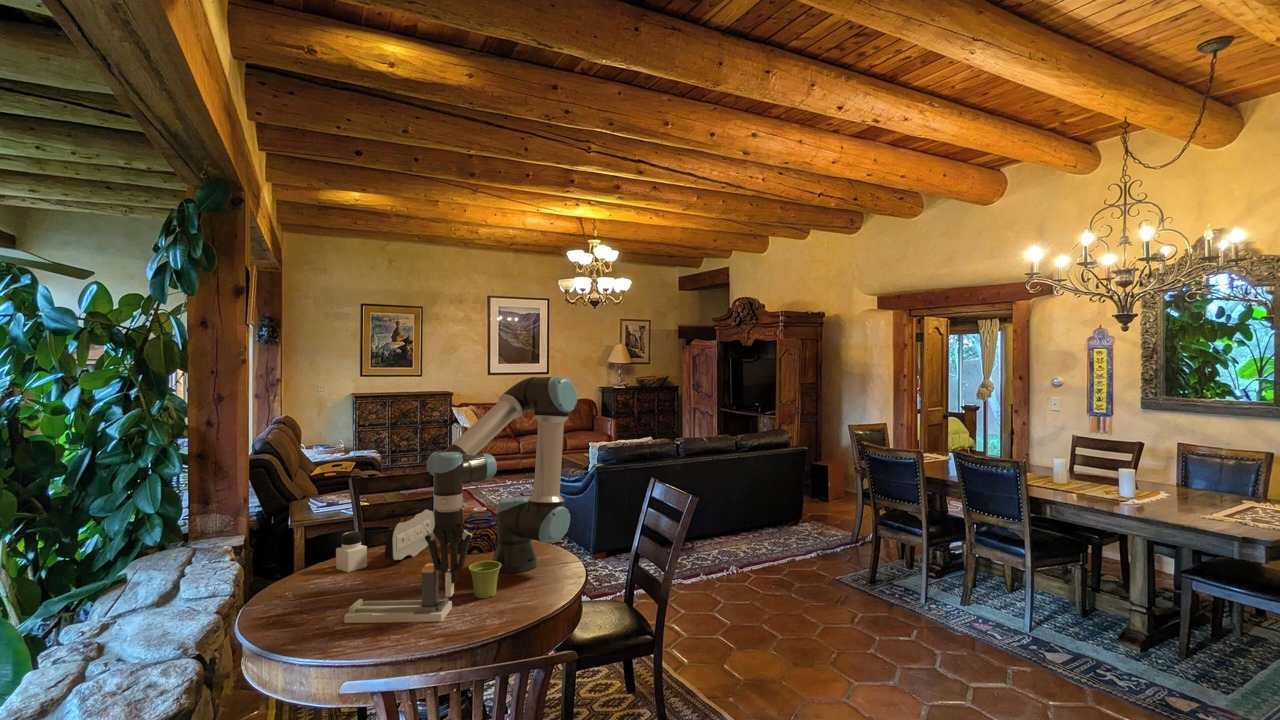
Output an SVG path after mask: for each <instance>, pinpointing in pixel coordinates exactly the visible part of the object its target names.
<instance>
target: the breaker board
mask: <svg viewBox="0 0 1280 720" xmlns="http://www.w3.org/2000/svg"><path fill="white" fill-rule="evenodd" d="M439 600H440V604H439V605H438V607H422V606H421V605H422V599H407V600H406V599H402V600H401V599H400V600H399V599H397V600H390V599H389V600H364V599H363V598H359V599H358V600H356V601H355V602H354V603H353V604H352V605H350V606H349V607H348V612H347V613H345V614H344V621H343V622H344V624H352V623H353V624H360V623H361V624H367V623H368V624H369V623H372V624H373V623H375V624H376V623H424V622H425V623H427V622H429V623H430V622H431V623H432V622H435V623H436V622H443V620H444V619H445V617H446V616H447V615H448V614H449V612H451V610H452V609H453V602H452V600H449V597H444V598H443V599H439Z"/></svg>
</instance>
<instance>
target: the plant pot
mask: <svg viewBox="0 0 1280 720" xmlns="http://www.w3.org/2000/svg"><path fill="white" fill-rule="evenodd" d="M500 567H501V563H499V562H496V561H492V560H483V561H478V562H474V563H471V564H470V565H469V566H468V569H469V571H470V574H471V579H472V586H473V592H474V597H477V598H478V599H488V598H489V597H494V596H495V595H496V593H497V585H498V577H499V573H500V572H499V569H500Z"/></svg>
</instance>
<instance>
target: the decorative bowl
mask: <svg viewBox="0 0 1280 720" xmlns="http://www.w3.org/2000/svg"><path fill="white" fill-rule="evenodd" d="M486 510H487V507H475V508H473V511H474V512H472V513H471V512H470V513H469V514H468V517H467V518H465V519H464V520H463V525H464V527H465V530H468V531H467V532H468V533H473V532H474V533H473V536H472V538H471V540H473V541H469V546H468V550H467V554H466V555H469V554H473V553H474V552H475V551H477V552H478V554H479V553H486V552H492V551H495V550H496V547H497V517H496V516H493V515H492V514H493V513H491V512H490V511H486ZM475 514H484V515H475ZM494 522H495V523H494ZM492 523H493V524H492ZM466 525H469V526H466ZM470 525H471V526H470ZM492 536H494V537H492ZM477 539H480V540H477ZM494 540H495V542H494ZM463 541H464V540H463V535H462V536H461V537H460V538H459V540H458V544H457V554H460V553H461V548H462V544H463ZM492 553H493V552H492ZM486 554H487V553H486Z"/></svg>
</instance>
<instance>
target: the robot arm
mask: <svg viewBox="0 0 1280 720" xmlns="http://www.w3.org/2000/svg"><path fill="white" fill-rule="evenodd" d="M577 404H578V393H577V389H576V387H575V385H574V384H573V382H572V381H571V380H570V379H568V378H567V377H561V376H530V377H526V378H525V379H522V380H520V381H519V382H517V383H515V384H514V385H512V386H511V387H509V388H508V389H507V390H506V391H505V392H503V393H502V394H501V395H500V396H499V398H498V402H497V403H496V404H495V405H493V407H491V408H490V409H489V410H488V411H487V412H485V413H484V415H482V417H480V418H479V419H477V421H476V422H474V423H473V424H472V425H471V426H470V427H469V428H468V429H467V430H465V431H464V433H462V434H461V435H459V437H458V438H457V439H456V440H454V442H453V443H451V444H450V445H449V446H448V447H447V448H446V449H445V450H443V451H442V450H439V451H434V452H432V453H431V454H430V455H429V456H428V458H427V461H426V469H427V471H428V473H429V475H431V476H433V487H434V488H433V490H434V491H433V492H434V494H433V495H434V496H433V497H434V499H433V500H434V501H433V502H434V510H435V511H434V512H433V515H434V519H435V527H434V529H433V532H432V533H429V534H428V535H426V536H425V540H426V541H427V543H428V547H429V548H428V549H429V552H430V554H431V555H430V556H431V559H432V563H433V564H434V568H435V570H438V571H440V572H441V583H442V584H444V587H445V588H444V589H445V590H444V591H445V598H450V597H452V596H453V595H454V593H455V584H456V583H457V582H458V571H461V570H462V568H464V566H465V562H466V558H467V555H468V554H467V550H468V549H469V547H468V546H469V545H470V543H469V542H470V540H471V538H472V536H473V534H474V533H473V532H472V533H468V531H467V530H466V529H465V527H464V526H465V524H464V525H463V523H464V509H463V508H462V507H463V506H464V499H463V497H464V495H463V494H464V493H463V492H464V491H463V490H464V489H463V488H464V485H466V484H471V483H476V482H481V481H483V482H484V481H486V480H490V479H492V478H493V477H494V476H495V475H496V473H497V471H498V468H497V465H498V464H497V460H496V458H495V456H493V455H492V454H490V453H480V454H478V453H479V452H480V451H482V449H484V447H486V446H487V444H489V443H490V441H492V440H493V439H495V437H496V436H498V434H499V433H500V432H501V431H502V430H503V429H504V428H505V427H507V426H508V425H509V424H510V423H511V422H512V421H513V420H514V419H518V418H520V417H522V415H523V414H526V413H529V412H532V411H533V416H534V418H535V419H536V420H537V422H538V423H537V434H536V435H537V436H536V450H535V451H536V453H535V465H534V467H535V469H534V484H533V494H532V495H531V496H529V495H528V496H527V495H523V496H515V497H509V498H505V499H502V500H500V501H499V502H498V503H497V504H496V512H495V513H496V516H495V517H496V520H497V526H496V528H497V529H496V530H497V532H496V533H497V547H496V546H495V547H496V550H495V552H494V554H493V556H492V560H491V561H496V562H499V563H501V567H500V569H499V572H498V573H502V574H503V573H504V574H516V573H517V574H518V573H523V572H526V571H530V570H532V568H533V569H534V567H535V566H536V565H537V566H538V556H537V552H536V550H535V547H534V544H533V540H534V541H539V542H541V543H556V542H559V541H560V540H562V539H563V538H564V537H565V535H566V534H567V533H568V530H569V527H570V523H571V514H570V513H571V512H569V509H568V508H566V507H565V506H564V503H565V499H564V498H563V497H562V496H561V478H562V476H561V475H562V460H563V448H564V447H563V444H564V429H565V428H564V427H565V422H566V421H567V420H568V419H569V417H570V413H571V412H572V411H573V410H575V408H576V406H577ZM461 536H462V540H464V541H463V544H462V548H461V553H459V558H458V553H457V544H458V540H459V538H460V537H461ZM436 538H437V540H438V542H439V543H440V544H439V545H440V553H439V549H438V544H437V541H436ZM460 539H461V538H460ZM459 541H460V540H459ZM449 548H450V550H449ZM449 555H450V557H449ZM449 558H450V560H449ZM449 561H450V566H449ZM537 566H536V567H537ZM536 567H535V568H536ZM449 568H450V569H449Z"/></svg>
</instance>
